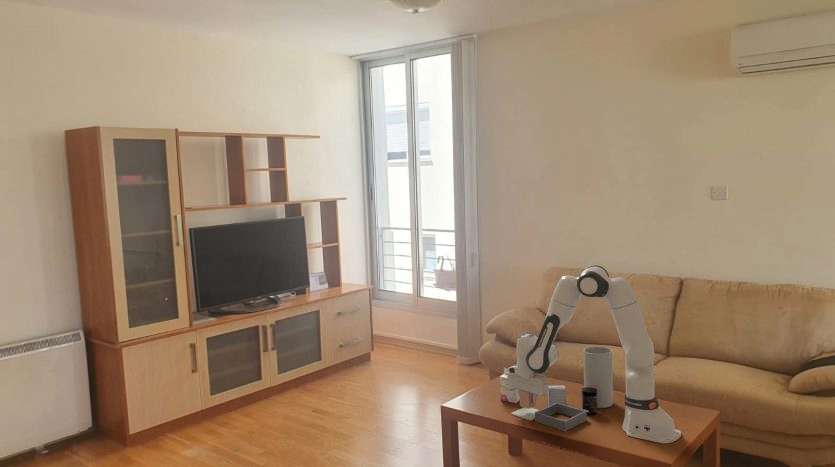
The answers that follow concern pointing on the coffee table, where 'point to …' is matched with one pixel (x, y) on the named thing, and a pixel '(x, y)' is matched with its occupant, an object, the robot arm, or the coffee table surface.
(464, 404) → the coffee table surface
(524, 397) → the salmon pink block
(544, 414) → the parts bin
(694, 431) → the coffee table surface
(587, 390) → the supplement container
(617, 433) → the coffee table surface
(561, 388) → the medicine box
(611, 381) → the cylinder vase
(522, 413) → the pad
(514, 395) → the ink cartridge box
